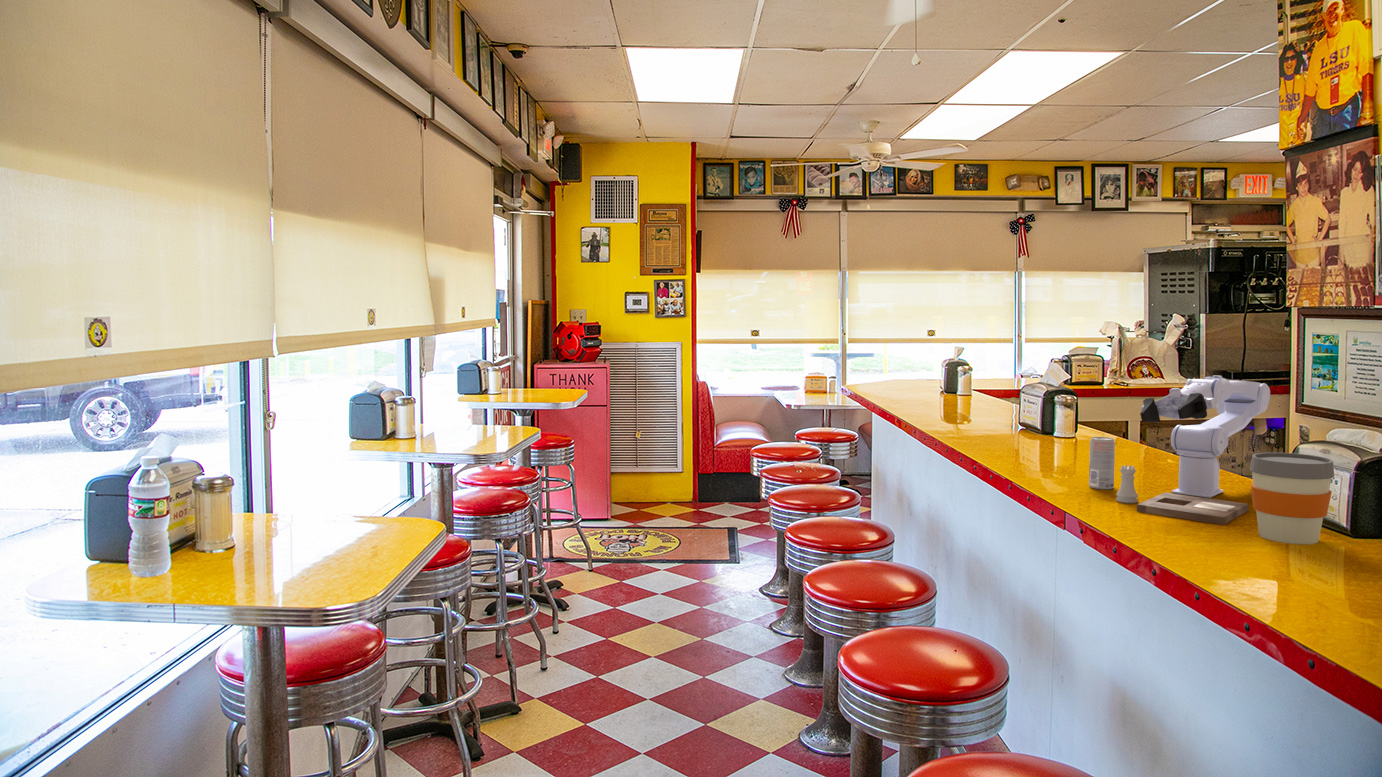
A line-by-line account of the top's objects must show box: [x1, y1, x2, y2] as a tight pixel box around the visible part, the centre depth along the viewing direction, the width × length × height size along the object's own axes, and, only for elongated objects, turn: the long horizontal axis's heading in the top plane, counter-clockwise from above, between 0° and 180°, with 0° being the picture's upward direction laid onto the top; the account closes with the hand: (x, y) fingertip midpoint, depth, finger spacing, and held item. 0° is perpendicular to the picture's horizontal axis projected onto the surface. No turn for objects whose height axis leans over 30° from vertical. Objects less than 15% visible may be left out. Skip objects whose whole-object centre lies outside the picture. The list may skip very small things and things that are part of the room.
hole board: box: [1136, 492, 1249, 526], centre depth 171 cm, size 16×16×2 cm
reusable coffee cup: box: [1249, 452, 1335, 545], centre depth 150 cm, size 13×13×15 cm
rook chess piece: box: [1115, 464, 1139, 505], centre depth 180 cm, size 4×4×8 cm
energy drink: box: [1088, 436, 1116, 491], centre depth 195 cm, size 5×5×12 cm
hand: (1161, 415), depth 173 cm, fingers open, 7 cm apart
